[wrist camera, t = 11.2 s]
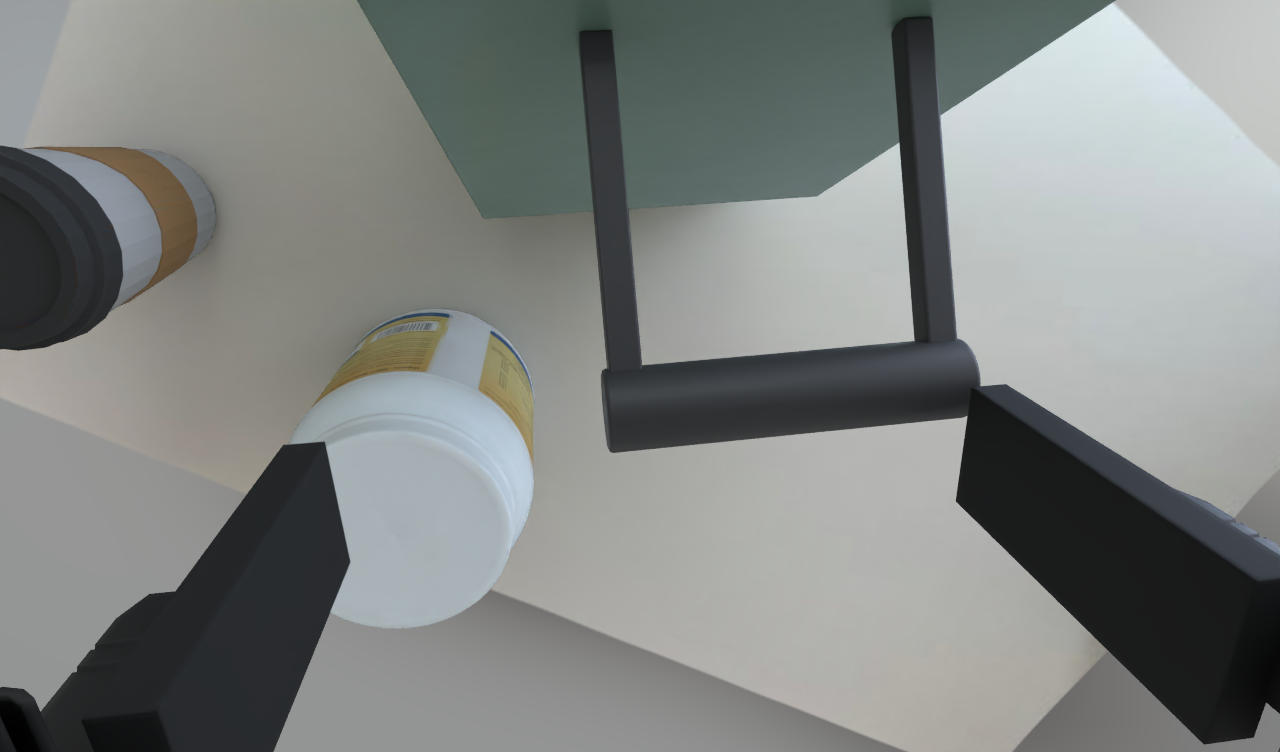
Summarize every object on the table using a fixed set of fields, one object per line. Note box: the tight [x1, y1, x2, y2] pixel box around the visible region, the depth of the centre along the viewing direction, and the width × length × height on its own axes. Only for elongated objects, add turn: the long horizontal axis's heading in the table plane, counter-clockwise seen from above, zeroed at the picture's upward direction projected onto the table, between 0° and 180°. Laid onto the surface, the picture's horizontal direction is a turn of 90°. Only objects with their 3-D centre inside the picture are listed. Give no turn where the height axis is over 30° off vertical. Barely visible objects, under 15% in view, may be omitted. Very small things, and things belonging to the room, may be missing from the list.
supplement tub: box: [288, 309, 534, 629], centre depth 40 cm, size 12×12×17 cm
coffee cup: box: [0, 146, 216, 351], centre depth 35 cm, size 8×8×15 cm
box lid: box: [357, 0, 1116, 453], centre depth 24 cm, size 21×16×10 cm
